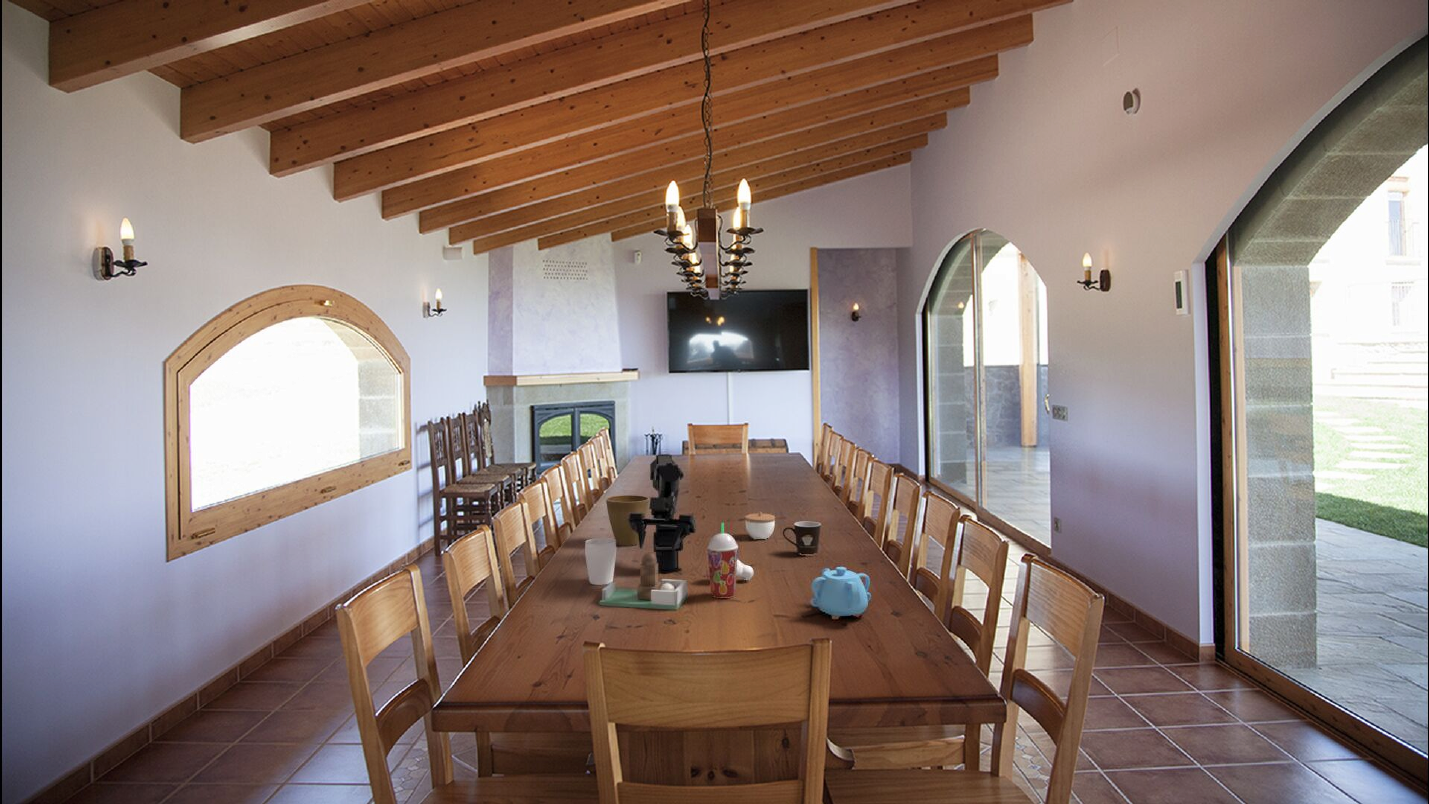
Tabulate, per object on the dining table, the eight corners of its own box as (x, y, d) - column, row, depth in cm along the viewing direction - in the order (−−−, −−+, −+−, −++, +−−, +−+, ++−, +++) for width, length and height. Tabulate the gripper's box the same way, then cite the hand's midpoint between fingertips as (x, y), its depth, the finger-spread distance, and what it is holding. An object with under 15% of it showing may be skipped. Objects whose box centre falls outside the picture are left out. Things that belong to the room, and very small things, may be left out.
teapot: (888, 622, 196) (888, 574, 195) (826, 629, 191) (826, 580, 191) (852, 598, 215) (852, 555, 215) (794, 604, 211) (794, 560, 210)
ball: (668, 580, 216) (672, 594, 216) (655, 585, 214) (659, 600, 214) (674, 581, 212) (678, 596, 212) (661, 586, 210) (665, 601, 210)
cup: (610, 587, 227) (610, 545, 227) (580, 585, 229) (580, 544, 228) (620, 578, 236) (620, 538, 235) (591, 576, 238) (591, 536, 237)
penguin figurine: (713, 549, 235) (754, 552, 235) (711, 577, 235) (751, 581, 235) (713, 554, 228) (755, 558, 229) (711, 583, 229) (752, 587, 229)
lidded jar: (743, 540, 282) (743, 514, 281) (747, 534, 292) (747, 508, 292) (773, 541, 280) (773, 515, 280) (776, 534, 291) (776, 509, 290)
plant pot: (647, 548, 272) (646, 502, 271) (603, 548, 272) (603, 502, 271) (651, 538, 286) (650, 494, 286) (609, 538, 287) (609, 494, 286)
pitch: (599, 605, 211) (599, 588, 211) (614, 591, 223) (614, 576, 222) (676, 610, 206) (676, 592, 206) (687, 596, 218) (687, 579, 218)
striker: (637, 599, 212) (636, 555, 211) (643, 592, 218) (643, 549, 217) (655, 600, 211) (654, 556, 210) (661, 593, 217) (661, 550, 216)
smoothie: (742, 592, 221) (741, 521, 220) (733, 601, 213) (732, 527, 212) (713, 590, 224) (713, 519, 222) (703, 598, 216) (702, 525, 215)
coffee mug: (824, 553, 264) (825, 523, 263) (813, 558, 257) (813, 528, 256) (793, 548, 270) (793, 519, 270) (781, 554, 263) (781, 524, 262)
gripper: (629, 484, 227) (617, 531, 217) (693, 486, 223) (684, 534, 213) (638, 506, 235) (626, 553, 225) (700, 508, 231) (691, 556, 221)
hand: (656, 548), depth 221 cm, fingers open, 9 cm apart
